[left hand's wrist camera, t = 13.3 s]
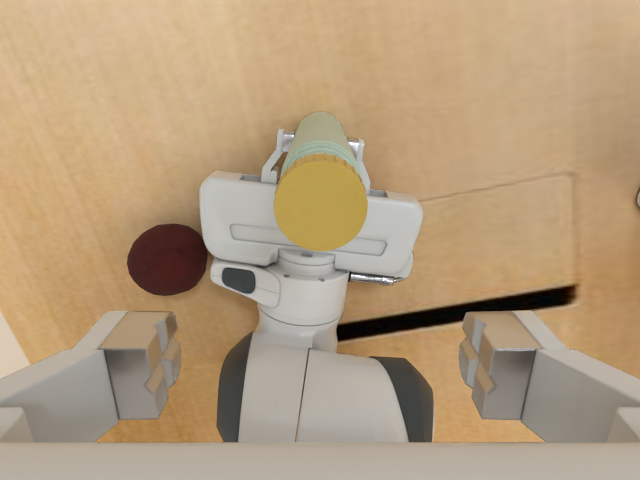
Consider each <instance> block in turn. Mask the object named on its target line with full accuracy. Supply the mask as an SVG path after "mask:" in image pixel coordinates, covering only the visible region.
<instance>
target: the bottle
mask: <svg viewBox="0 0 640 480" xmlns="http://www.w3.org/2000/svg"><path fill="white" fill-rule="evenodd" d="M314 153H315V154H324V153H326V154H329V155H333V156H335V155H336V156H337V157H339V158H341V159H343V160H344V159H345V160H346V162H347V163H348V164H350V165H351V166H353V167H354V169H355V171H356V172H357V174H359V175H360V170H359V167H358V164H357V162H356V159H355V157H354V154H353V152H352V149H351V147H350V145H349V142H348V140H347V137H346V135H345V132H344V130H343V127H342V125H341V123H340V122H339V120H338V119H337V118H336V117H334V116H333V115H331V114H329V113H327V112H314V113H311V114H309V115H307V116H306V117H305V118H304V119H303V120H302V121H301V122H300V124H299V126H298V128H297V131H296V134H295V136H294V139H293V141H292V144H291V146H290V149H289V151H288V154H287V156H286V159H285V162H284V164H283V167H282V170H281V175H280V177H281V176H283V174H284V173H285V171H286V168H287V167H288V168H289V167H290V166H291V165H292V164H293V163H294V161H295V160H296V161H297V160H299V159H301V158H303V156H308V155H312V154H314ZM360 177H361V175H360Z"/></svg>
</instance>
